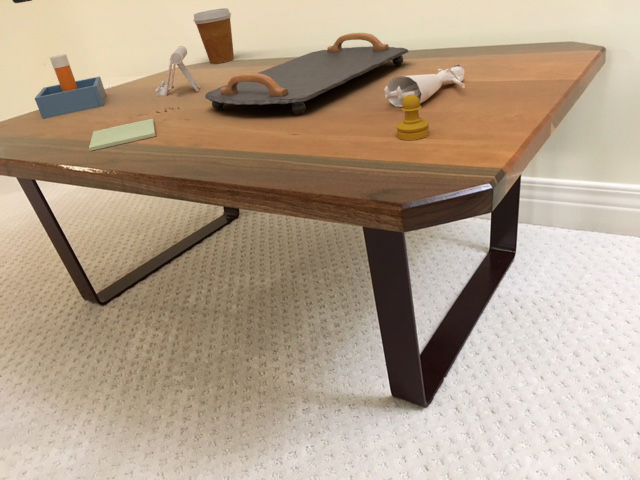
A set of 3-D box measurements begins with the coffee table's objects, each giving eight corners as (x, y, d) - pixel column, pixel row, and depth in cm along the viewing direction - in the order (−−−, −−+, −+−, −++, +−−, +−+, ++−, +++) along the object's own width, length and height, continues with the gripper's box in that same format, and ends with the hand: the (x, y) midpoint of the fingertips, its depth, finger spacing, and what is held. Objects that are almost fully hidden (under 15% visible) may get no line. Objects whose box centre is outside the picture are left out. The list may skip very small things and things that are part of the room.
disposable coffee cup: (197, 67, 137) (185, 16, 131) (212, 59, 145) (201, 11, 139) (232, 63, 134) (221, 11, 129) (245, 55, 142) (235, 6, 137)
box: (44, 122, 105) (34, 98, 103) (52, 110, 115) (43, 87, 113) (104, 109, 108) (96, 85, 105) (107, 98, 118) (100, 76, 115)
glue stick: (67, 109, 110) (48, 58, 105) (69, 106, 112) (50, 56, 107) (83, 106, 110) (65, 55, 105) (84, 103, 113) (66, 53, 108)
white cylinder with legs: (164, 91, 115) (153, 50, 111) (201, 85, 115) (191, 44, 111) (158, 101, 107) (145, 57, 103) (197, 94, 108) (186, 50, 104)
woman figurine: (359, 77, 78) (430, 57, 90) (361, 108, 80) (430, 84, 91) (426, 81, 71) (495, 58, 82) (427, 115, 73) (493, 88, 84)
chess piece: (410, 127, 70) (408, 89, 67) (435, 131, 67) (433, 91, 64) (390, 137, 67) (387, 97, 65) (415, 141, 65) (412, 100, 62)
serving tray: (324, 61, 118) (320, 31, 115) (420, 60, 105) (418, 26, 102) (192, 116, 92) (183, 79, 89) (297, 123, 79) (289, 80, 76)
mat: (90, 151, 82) (88, 147, 82) (94, 134, 91) (93, 131, 91) (155, 136, 84) (154, 132, 84) (153, 121, 93) (153, 118, 93)
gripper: (-29, -94, 96) (9, 4, 104) (-50, -106, 84) (-6, 6, 92) (16, -99, 98) (49, -3, 105) (2, -112, 86) (41, -1, 93)
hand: (24, 1), depth 99 cm, fingers open, 8 cm apart
